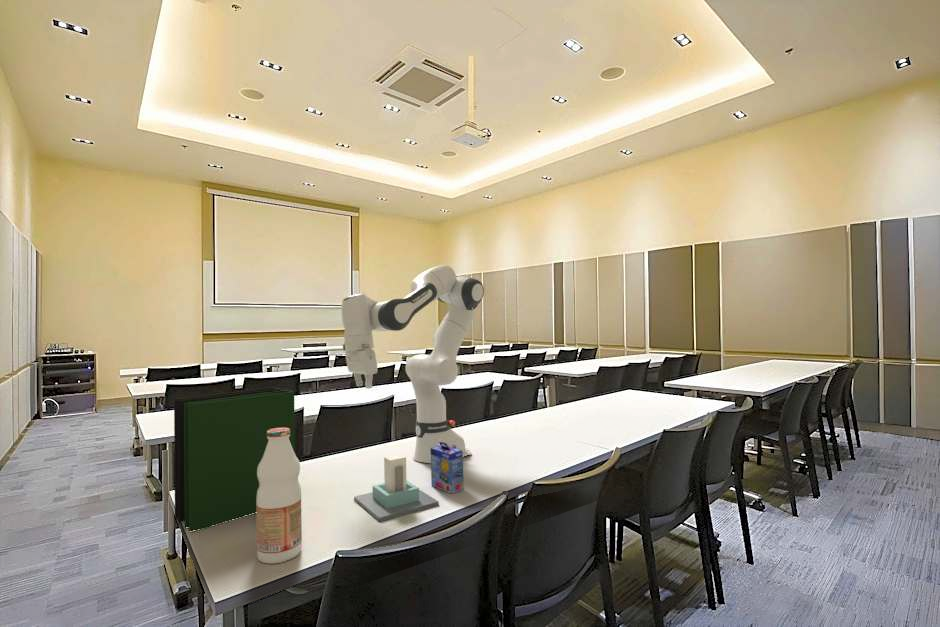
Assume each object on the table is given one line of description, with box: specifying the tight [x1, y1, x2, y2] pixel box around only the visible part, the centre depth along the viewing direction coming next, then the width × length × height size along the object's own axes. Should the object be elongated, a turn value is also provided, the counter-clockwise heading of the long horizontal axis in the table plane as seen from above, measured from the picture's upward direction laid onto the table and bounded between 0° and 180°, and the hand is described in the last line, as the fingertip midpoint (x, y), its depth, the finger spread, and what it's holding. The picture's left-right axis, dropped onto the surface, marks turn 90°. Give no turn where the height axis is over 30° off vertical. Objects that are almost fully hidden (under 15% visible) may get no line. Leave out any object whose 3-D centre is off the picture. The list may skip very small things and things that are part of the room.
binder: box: [173, 386, 296, 532], centre depth 130 cm, size 27×15×32 cm, turn 137°
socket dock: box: [353, 479, 440, 522], centre depth 133 cm, size 18×18×4 cm
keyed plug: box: [383, 453, 407, 494], centre depth 132 cm, size 5×5×12 cm
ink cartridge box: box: [430, 442, 465, 494], centre depth 144 cm, size 10×6×14 cm, turn 44°
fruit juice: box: [256, 428, 303, 565], centre depth 104 cm, size 9×9×28 cm
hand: (364, 387), depth 148 cm, fingers open, 8 cm apart
